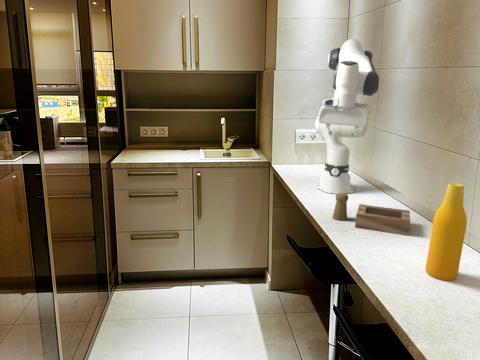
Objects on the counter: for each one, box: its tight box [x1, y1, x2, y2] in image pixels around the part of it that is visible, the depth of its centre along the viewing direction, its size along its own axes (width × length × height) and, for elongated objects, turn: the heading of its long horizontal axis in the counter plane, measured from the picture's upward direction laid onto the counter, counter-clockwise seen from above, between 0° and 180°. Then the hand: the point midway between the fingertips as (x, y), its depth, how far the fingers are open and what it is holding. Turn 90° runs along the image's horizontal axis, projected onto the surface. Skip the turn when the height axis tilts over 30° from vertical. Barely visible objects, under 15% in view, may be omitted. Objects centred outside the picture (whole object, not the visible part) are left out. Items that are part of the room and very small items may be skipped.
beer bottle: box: [425, 182, 468, 281], centre depth 134 cm, size 9×9×29 cm
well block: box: [354, 203, 411, 236], centre depth 179 cm, size 15×20×6 cm
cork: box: [331, 193, 349, 222], centre depth 184 cm, size 6×6×11 cm
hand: (341, 136), depth 183 cm, fingers open, 8 cm apart
